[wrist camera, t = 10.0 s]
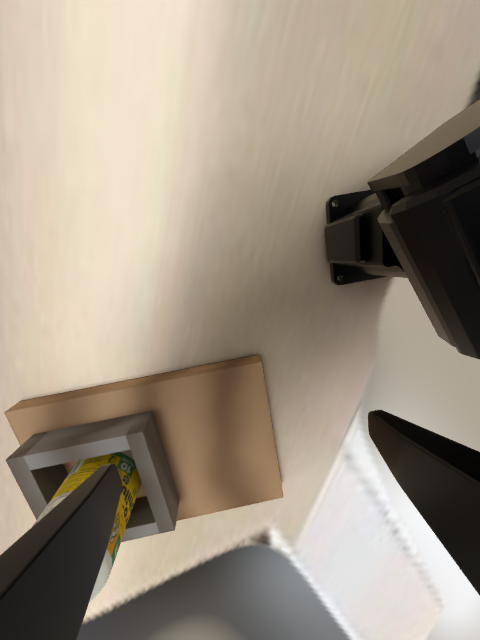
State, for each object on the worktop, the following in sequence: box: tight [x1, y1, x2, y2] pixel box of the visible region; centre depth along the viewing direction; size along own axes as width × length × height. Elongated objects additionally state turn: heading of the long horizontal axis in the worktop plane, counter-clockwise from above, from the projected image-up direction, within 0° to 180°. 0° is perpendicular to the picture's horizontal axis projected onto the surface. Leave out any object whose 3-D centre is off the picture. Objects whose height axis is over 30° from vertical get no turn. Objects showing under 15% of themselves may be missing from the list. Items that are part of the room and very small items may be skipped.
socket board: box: [4, 355, 283, 542], centre depth 20 cm, size 20×14×4 cm
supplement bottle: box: [32, 450, 142, 602], centre depth 15 cm, size 5×5×10 cm
